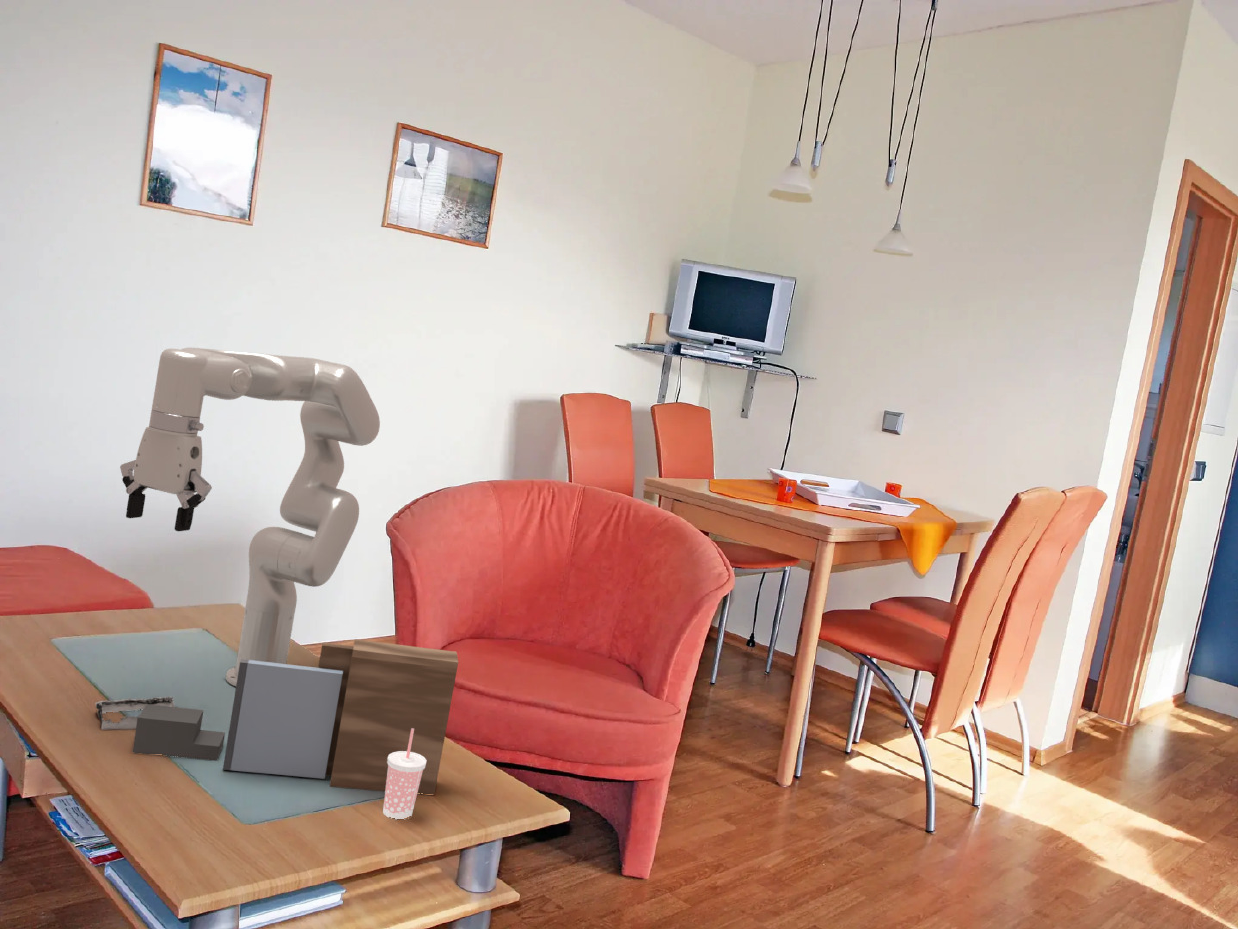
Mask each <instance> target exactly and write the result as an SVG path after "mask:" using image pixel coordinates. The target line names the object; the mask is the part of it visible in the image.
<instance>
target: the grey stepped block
mask: <svg viewBox="0 0 1238 929" xmlns="http://www.w3.org/2000/svg"><path fill="white" fill-rule="evenodd" d="M203 716H204V709H196V708H189V707H188V708H186V707H179V706H178V707H177V706H175V707H169V706H159V705H149V704H146V706H145V707H144V709H143V710H141V712H140V713H139V714H138V716H137V717H138V718H137V725H136V729H135V732H134V738H133V739H134V740H133V747H132V751H131V752H134V753H133V754H138V753H142V754H141V755H149V754H162V755H167V756H166V757H170V756H174V757H173V758H181V757H185V758H184V759H192V758H193V760H194V758H195V760H205V761H213V760H214V762H216V761H218V758H219V757H220V755H221V752H222V749H223V747H224V742H225V736H226V732H225V731H215V730H206V729H201V727H202V722H203ZM175 756H176V757H175ZM177 756H178V757H177ZM186 757H187V758H186Z"/></svg>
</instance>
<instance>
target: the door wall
mask: <svg viewBox="0 0 1238 929" xmlns="http://www.w3.org/2000/svg"><path fill="white" fill-rule="evenodd" d="M458 666H459V658H458V652H457V651H454V650H453V651H452V650H444V649H439V648H438V649H435V648H428V647H421V646H419V647H418V646H412V645H405V644H395V643H390V642H389V643H388V642H381V641H371V640H363V639H354V642H353V645H346V644H339V643H338V644H337V643H331V642H322V645H321V650H320V655H319V661H318V667H317V668H323V669H332V670H340V671H343V675H342V680H341V686H340V692H339V698H338V704H337V709H336V715H335V721H334V727H333V733H332V739H331V744H330V750H329V756H328V762H327V768H326V773H325V776H329V777H331V778H330V782H329V787H331V788H333V787H334V788H343V789H344V788H345V789H356V790H363V791H364V790H365V791H375V792H385V789H386V781H387V772H388V763H387V761H388V760H387V758H388V756H389V754H391V753H393V752H397V751H407V749H408V744H409V738H410V733H411V728H414V733H413V739H412V744H411V750H410V752H414V753H417V754H420V755H422V756H423V757H425V759H426V760H427V762H426V766H425V769H423V772H422V776H421V780H420V784H419V788H418V792H417V793H420V794H421V793H423V794H434V795H435V792H436V788H437V781H438V775H439V770H440V765H441V759H442V754H443V750H444V749H443V748H444V743H445V739H446V738H445V737H446V732H447V726H448V720H449V715H450V710H451V706H452V700H453V693H454V689H455V683H456V677H457V671H458ZM420 794H419V795H420Z"/></svg>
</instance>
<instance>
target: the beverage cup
mask: <svg viewBox="0 0 1238 929" xmlns="http://www.w3.org/2000/svg"><path fill="white" fill-rule="evenodd" d="M413 733H414V728H411V733H410V738H409V744H408V749H407V751H397V752H393V753H391V754H389V756H388V758H387V760H388V761H387V763H388V772H387V781H386V789H385V791H384V798H383V810H382V813H383V815H384V816H386V817H387V818H389V817H391V818H390V819H392V818H395V819H394V820H397V819H404V818H407V817H409V816H411V817H412V816H413V812H414V808H415V803H416V799H417V796H418V794H417V792H418V788H419V784H420V780H421V776H422V772H423V769H425V766H426V762H427V760H426V759H425V757H423V756H422V755H420V754H417V753H414V752H410V750H411V744H412V739H413ZM404 820H405V819H404Z"/></svg>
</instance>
